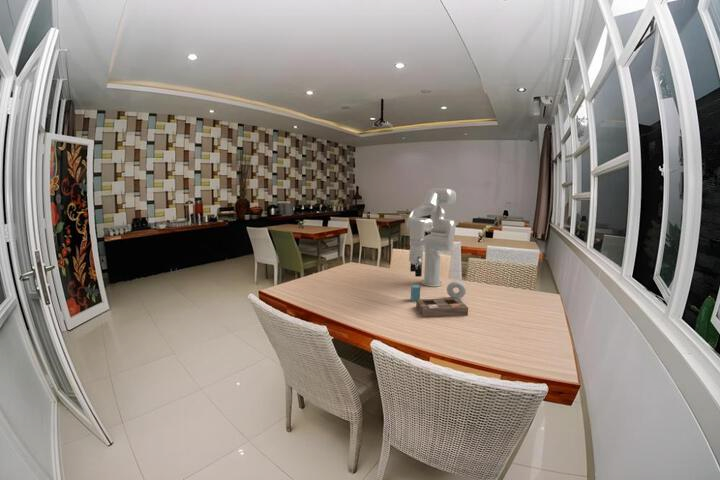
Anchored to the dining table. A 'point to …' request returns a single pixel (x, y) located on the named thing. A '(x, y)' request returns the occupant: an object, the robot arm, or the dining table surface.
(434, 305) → the socket block
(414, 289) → the plug
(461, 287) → the donut
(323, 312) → the dining table surface
